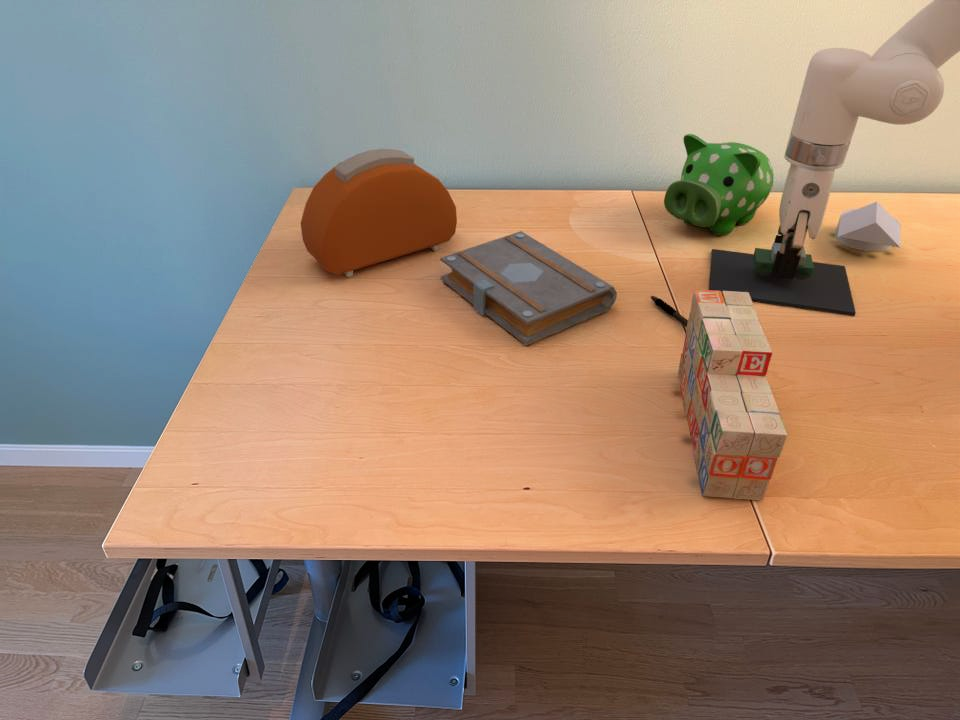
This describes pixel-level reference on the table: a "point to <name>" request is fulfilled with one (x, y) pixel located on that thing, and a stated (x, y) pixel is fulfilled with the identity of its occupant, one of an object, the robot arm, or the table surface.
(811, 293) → the mat
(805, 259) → the toy car
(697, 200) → the piggy bank
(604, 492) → the table surface
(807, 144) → the robot arm
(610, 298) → the book
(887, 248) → the wedge on round base
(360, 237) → the orange toaster
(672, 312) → the pen
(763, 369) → the stack of blocks
